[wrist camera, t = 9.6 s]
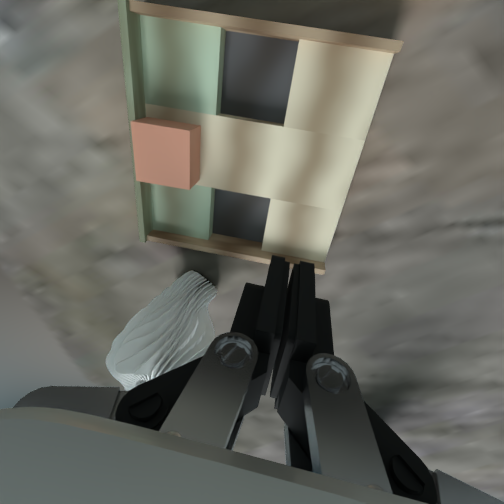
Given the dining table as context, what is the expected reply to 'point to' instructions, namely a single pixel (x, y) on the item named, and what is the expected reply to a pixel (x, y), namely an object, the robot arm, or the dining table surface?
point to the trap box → (252, 126)
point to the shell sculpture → (164, 333)
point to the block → (166, 152)
